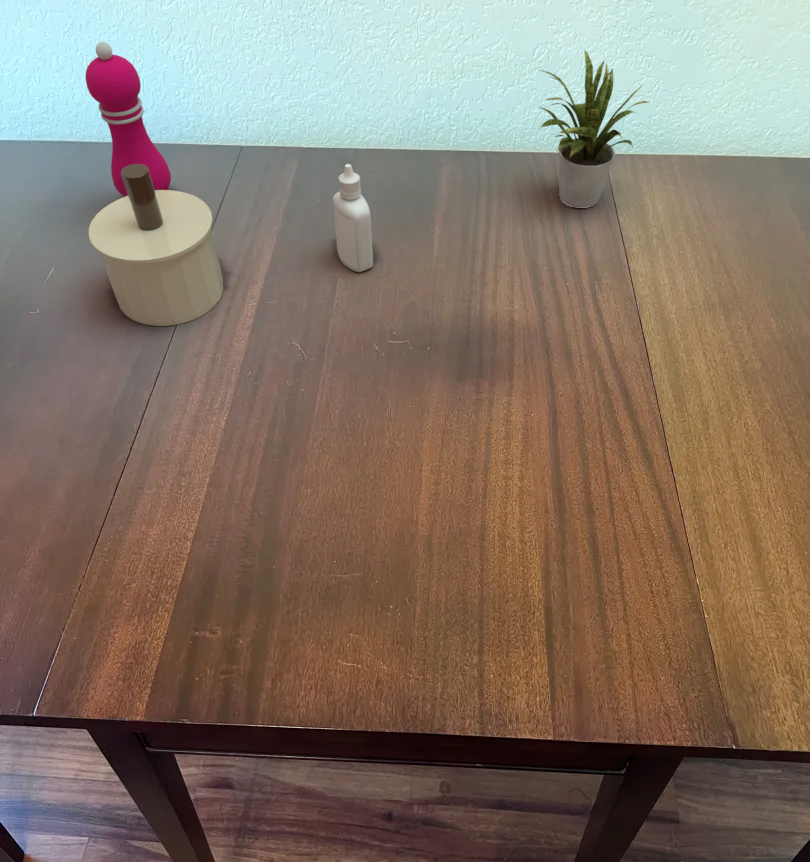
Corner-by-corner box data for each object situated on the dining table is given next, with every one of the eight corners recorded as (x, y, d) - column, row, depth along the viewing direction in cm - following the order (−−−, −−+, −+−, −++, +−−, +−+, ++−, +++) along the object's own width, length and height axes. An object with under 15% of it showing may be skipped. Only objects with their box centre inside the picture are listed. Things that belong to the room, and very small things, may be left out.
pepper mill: (153, 230, 100) (101, 62, 84) (112, 214, 103) (54, 48, 86) (190, 203, 104) (147, 37, 88) (149, 188, 106) (101, 23, 90)
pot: (109, 328, 89) (83, 263, 82) (127, 262, 96) (105, 198, 90) (218, 324, 89) (201, 259, 83) (227, 259, 97) (213, 194, 90)
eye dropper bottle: (337, 274, 94) (328, 180, 85) (337, 247, 98) (328, 153, 88) (373, 273, 95) (368, 178, 85) (372, 245, 98) (367, 151, 88)
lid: (80, 271, 83) (55, 209, 77) (103, 200, 90) (82, 139, 85) (207, 266, 83) (191, 204, 77) (219, 196, 91) (206, 135, 85)
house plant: (507, 171, 108) (520, 40, 94) (604, 160, 109) (629, 29, 96) (536, 230, 99) (554, 96, 86) (640, 217, 101) (673, 83, 87)
